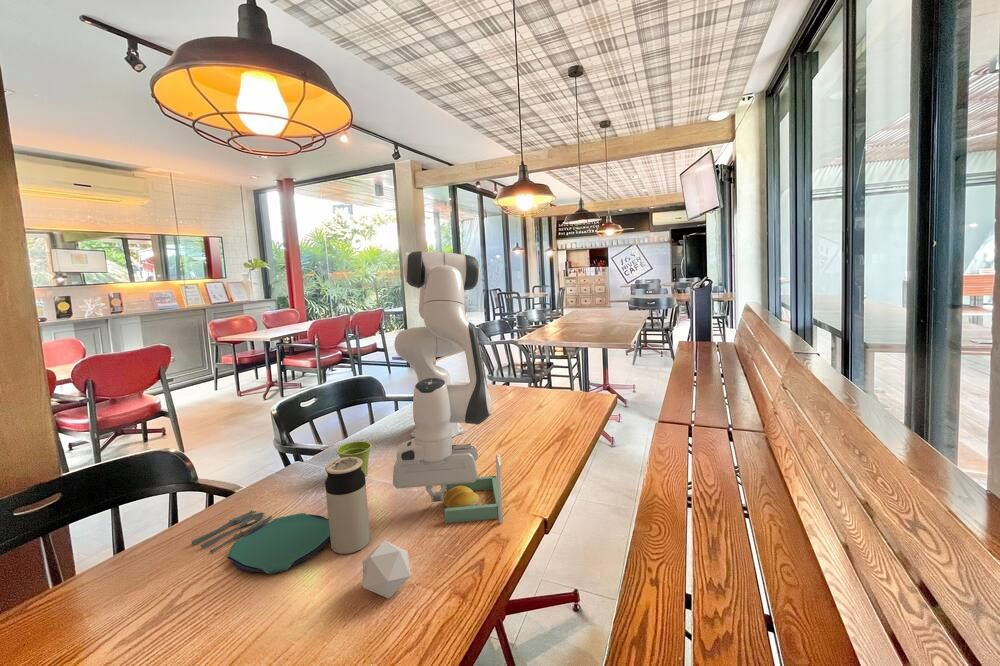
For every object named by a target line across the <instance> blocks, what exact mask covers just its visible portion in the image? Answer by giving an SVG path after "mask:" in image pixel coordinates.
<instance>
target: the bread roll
mask: <svg viewBox="0 0 1000 666" xmlns="http://www.w3.org/2000/svg"><path fill="white" fill-rule="evenodd" d="M444 494H445V495H443V504H444V506H445V507H446V508H455V507H466V506H477V505H480V497H479V495H478V494H477V493H476V492H475V491H472V490H471V489H470V488H468V487H466V486H456V487H454V488H452V489H450V490H449V491H448V492H447V491H446V492H445V493H444Z"/></svg>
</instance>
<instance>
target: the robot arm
mask: <svg viewBox="0 0 1000 666" xmlns="http://www.w3.org/2000/svg"><path fill="white" fill-rule="evenodd" d="M403 275H404V278H405V280H406V283H407V284H408V285H409V286H411V287H414V288H416V289H419V298H418V299H419V300H418V301H419V303H418V313H419V316H420V317H421V319H423V322H424V325H425V326H420V327H418V326H417V327H410V328H407V329H403V330H400V331H398V333H397V335H396V336H395V338H394V343H393V344H394V345H393V347H394V350H395V351H396V354H397V355H398V356H399V358H401V359H402V360H404V361H406V362H407V363H408V364H409V365H410V366H411V367H412V368H413V370H414V372H415V374H416V377H417V378H416V379H417V382H416V384H415V385H414V390H413V398H412V416H413V417H412V418H413V422H414V426H415V428H414V429H413V431H411V433H410V434H411V435H410V436H411V439H408V440H405V441H404V442H401V443H400V444H399V446H398V447H397V450H396V457H395V458H396V459H395V462H394V466H393V474H392V485H393V486H394V487H395V488H396V489H406V488H407V489H408V488H410V489H411V488H420V487H421V488H422V487H425V491H426V492H427V493H428V495H429V496H430V498H431V499H430V500H431V501H430V502H431V503H437V502H444V494H445V493H446V489H447V484H460V483H472V482H475V481H476V480H477V477H478V470H477V468H478V467H477V462H476V461H477V460H478V457H479V455H478V454H479V451H478V448H477V447H476V446H475V445H472V444H471V443H466V444H453V438H454V437H456V436H458V435H461V434H464V433H465V428H464V427H463V426H462V424H468V425H469V424H470V425H480V424H482V423H483V422H485V421H486V420H487V419H488V418H489V417H490V416H491V413H492V408H493V407H492V405H493V404H492V398H491V394H490V391H489V387H488V382H487V377H486V370H485V365H484V357H483V352H482V347H481V342H480V341H481V340H480V337H479V333H478V330H477V327H476V326H475V324H474V323H472V322H470V321H469V319H468V317H467V315H466V308H465V307H466V301H465V300H466V298H465V291H471V290H473V289H474V288H476V286H477V284H478V283H479V279H480V277H481V269H480V265H479V261H478V260H477V258H476V257H475V256H472V255H468V254H459V253H454V252H449V251H443V252H441V251H422V250H417V251H412V252H410V253H409V254H408V255H407V257H406V258H405V261H404V263H403ZM462 352H464V354H465V359H466V364H467V370H468V371H467V372H468V378H469V383H467V384H451V375H450V373H449V371H448V370H447V369H446V368H443V367H441V366H439V365H436V364H434V360H433V359H434V358H439V357H449V356H450V357H451V356H453V355H457V354H460V353H462ZM433 486H440V491H434V490H433Z"/></svg>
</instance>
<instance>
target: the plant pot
mask: <svg viewBox="0 0 1000 666" xmlns="http://www.w3.org/2000/svg"><path fill="white" fill-rule="evenodd" d="M371 448H372V444H371V442H369V441H363V440H362V441H360V440H358V441H357V440H356V441H350V442H347V443H345V444H342V445H340V446H339V447H338V448H337V449H336V452H337V454H338V456H339V458H344V457H357V458H360V459H361V460H362V461H363V463H362V465H361V470H362V471H363V473H364V474H365V478H366V477H367V475H368V474H369V458H370V457H369V456H370V453H371Z"/></svg>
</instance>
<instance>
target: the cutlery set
mask: <svg viewBox="0 0 1000 666" xmlns="http://www.w3.org/2000/svg"><path fill="white" fill-rule="evenodd" d="M256 512H257V511H255V510H250V511H249V512H246V513H244V514H241V515H239V516H237V517H234V518H232V519H229V521H228V522H226V523H225V524H223V525H222V526H220V527H219V528H216V529H214V530H212V531H211V532H208V533H206V534H204V535H201V536H199V537H197V538H195V539H192V540H191V545H192V546H196V545H197V544H198V543H200V542H202V541H204V540H206V539H208V538H210V540H207V541H205V542H203V543H201V544H200V548H202V549H205V548H207V547H208V546H209V545H211V544H213V543H214V542H216V541H218V540H220V539H221V538H223V537H225V536H227V535H229V534H231V533H233V532H234V531H236V530H238V529H240V528H243V527H246V526H251V525H252V526H251V527H249V528H247V529H246V530H244V531H243V530H240V531H239V532H238V533H235V534H234V535H232V537H231V538H229V539H228V540H226V541H224V542H223V543H221V544H219V545H217V546H216V547H213V548H211V549H209V552H210V554H213V553H214V551H216V550H218V549H220V548H221V547H222V546H224V545H226V544H228V543H229V542H231V541H233V540H236V539H238V540H236V541H234V542H233V544H232V545H231V547H230V549H229V551H228V554H227V557H226V558H227V559H230V560H231V563H232V565H233V566H235V567H236V568H237V569H239V570H241V571H245V572H250V573H259V572H260V573H261V572H262V573H263V572H265V573H266V574H268V575H271V574H275V573H279V572H280V573H281V572H285V571H287V570H288V569H289V568H290V567H291V566H293V565H296V564H299V563H301V562H303V561H305V560H306V559H307V560H308V558H310V557H311V556H314V554H316V553H318V552H320V551H321V550H322V548H324V547H325V546H326V545H327V544H328V543H329V541H331V539H330V529H329V519H328V518H327V517H325V516H322V515H318V514H317V515H316V514H313V513H309V514H308V513H304V512H301V513H300V512H299V513H294V514H291V515H290V514H289V515H285V516H281V517H280V516H279V517H277V518H274V519H272V518H273V517H272V515H269V516H268V517H266V518H264V519H263V520H261V519H262V518H263V517H264V515H265V512H263V511H262V512H261V511H260V512H258V513H256ZM271 519H272V520H271ZM260 520H261V521H260ZM270 520H271V521H270ZM258 521H259V522H258ZM269 521H270V522H269ZM239 523H240V524H239ZM255 523H256V524H255ZM237 524H239V526H237V527H234V528H231V529H230V530H228V531H225V532H223V533H220V532H222V531H223V530H224V529H226V528H227V527H229V526H231V525H232V526H233V525H234V526H235V525H237ZM253 524H254V525H253ZM218 533H220V534H219V535H217V536H215V537H213V536H214V535H216V534H218ZM245 534H246V535H245ZM241 536H242V538H241ZM211 537H213V538H211Z"/></svg>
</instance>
